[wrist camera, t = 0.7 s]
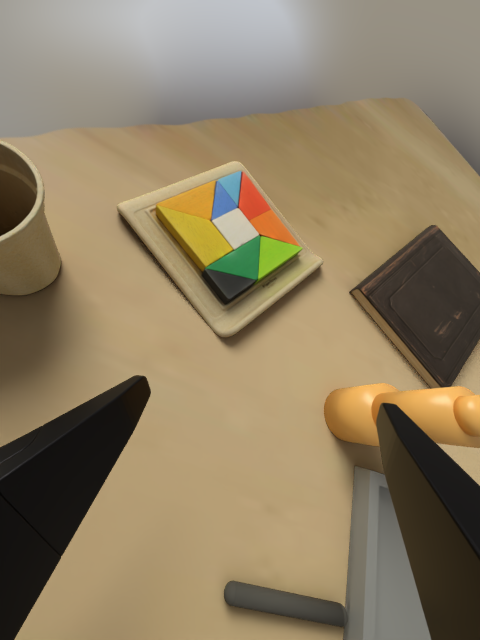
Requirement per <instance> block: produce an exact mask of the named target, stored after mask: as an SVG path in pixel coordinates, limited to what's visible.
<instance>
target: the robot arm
mask: <svg viewBox="0 0 480 640" xmlns="http://www.w3.org/2000/svg"><path fill="white" fill-rule="evenodd" d="M150 394H151V390H150V387H149V384H148V381H147V378H146V377H145V376H140V375H136V376H133V377H132V378H130V379H128V380H126V381H124V382H122V383H120V384H119V385H117V386H115V387H113V388H111V389H109V390H107V391H106V392H104V393H102V394H100V395H98V396H96V397H94V398H93V399H91V400H89V401H87V402H85V403H83V404H81V405H80V406H78V407H76V408H74V409H72V410H70V411H68V412H67V413H65V414H63V415H61V416H59V417H57V418H56V419H54V420H52V421H50V422H48V423H46V424H44V425H43V426H41V427H39V428H37V429H35V430H33V431H31V432H30V433H28V434H26V435H24V436H22V437H20V438H18V439H16V440H14V441H12V442H10V443H8V444H6V445H4V446H2V447H0V640H14V639H15V637H16V635H17V634H18V632H19V630H20V628H21V627H22V625H23V623H24V621H25V620H26V618H27V616H28V614H29V613H30V611H31V609H32V608H33V606H34V604H35V602H36V601H37V599H38V597H39V595H40V594H41V592H42V590H43V588H44V587H45V585H46V583H47V581H48V580H49V578H50V576H51V574H52V573H53V571H54V569H55V568H56V566H57V564H58V562H59V561H60V559H61V556H62V555H63V553H64V552H65V550H66V548H67V546H68V545H69V543H70V541H71V539H72V538H73V536H74V534H75V532H76V531H77V529H78V527H79V525H80V524H81V522H82V520H83V519H84V517H85V515H86V513H87V512H88V510H89V508H90V506H91V505H92V503H93V501H94V499H95V498H96V496H97V494H98V492H99V491H100V489H101V487H102V486H103V484H104V482H105V480H106V479H107V477H108V475H109V473H110V472H111V470H112V468H113V466H114V465H115V463H116V461H117V459H118V458H119V456H120V454H121V452H122V451H123V449H124V447H125V446H126V444H127V442H128V440H129V439H130V437H131V435H132V433H133V431H134V430H135V428H136V425H137V423H138V421H139V419H140V417H141V415H142V412H143V410H144V408H145V406H146V404H147V402H148V399H149V397H150ZM376 426H377V433H378V439H379V445H380V451H381V457H382V463H383V468H384V473H385V477H386V481H387V485H388V488H389V492H390V495H391V499H392V503H393V506H394V510H395V513H396V517H397V520H398V524H399V527H400V531H401V534H402V538H403V541H404V545H405V548H406V552H407V556H408V559H409V563H410V566H411V570H412V573H413V577H414V580H415V584H416V587H417V591H418V594H419V598H420V602H421V605H422V609H423V612H424V616H425V619H426V623H427V626H428V630H429V633H430V637H431V640H480V486H479V485H478V484H477V483H476V482H475V481H474V480H473V479H472V478H471V477H470V476H469V475H468V474H467V473H466V472H465V471H464V470H463V469H462V468H461V467H460V466H459V465H458V464H457V463H456V462H455V461H454V460H453V459H452V458H451V457H450V456H449V455H448V454H446V453H445V452H444V451H443V450H442V449H441V448H440V447H439V446H438V445H437V444H436V443H435V442H434V441H433V440H432V439H431V438H430V437H429V436H428V435H427V434H426V433H425V432H424V431H423V430H422V429H421V428H420V427H419V426H418V425H417V424H416V423H415V422H414V421H413V420H412V419H411V418H409V417H408V416H407V415H406V414H405V413H404V412H403V411H402V410H401V409H400V408H399V407H398V406H397V405H396V404H392V403H381V405H380V407H379V411H378V415H377V419H376Z"/></svg>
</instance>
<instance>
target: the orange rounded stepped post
mask: <svg viewBox="0 0 480 640" xmlns="http://www.w3.org/2000/svg"><path fill="white" fill-rule="evenodd" d="M381 403H392V404H396V405H397V406H398V407H399V408H400V409H401V410H402V411H403V412H404V413H405V414H406V415H407V416H408V417H409V418H411V419H412V420H413V421H414V422H415V423H416V424H417V425H418V426H419V427H420V428H421V429H422V430H423V431H424V432H425V433H426V434H427V435H428V436H429V437H430V438H431V439H432V440H433V441H434V442H435V443H439V444H448V445H456V446H465V447H474V448H480V395H475V394H474V393H473V392H472V391H470V390H469V389H467V388H465V387H461V386H456V387H444V388H433V389H421V390H410V391H399V390H397V389H396V388H395V387H393V386H391V385H389V384H384V383H380V384H372V385H365V386H357V387H349V388H342V389H337V390H334V391H333V392H331V393H330V394H329V396H328V397H327V399H326V402H325V406H324V416H325V420H326V423H327V425H328V427H329V429H330V431H331V432H332V433H333V434H334V435H335V436H336V437H337V438H339V439H340V440H343V441H347V442H353V443H359V444H365V445H371V446H377V447H380V445H379V439H378V433H377V426H376V419H377V415H378V411H379V407H380V405H381Z"/></svg>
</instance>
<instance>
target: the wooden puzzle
mask: <svg viewBox="0 0 480 640" xmlns="http://www.w3.org/2000/svg"><path fill="white" fill-rule="evenodd" d="M117 210H118V212H119V213H120V214H121V215H122V216H123V217H124V218H125V219H126V221H127V222H128V223H129V224H130V226H131V227H132V228H133V230H134V231H135V232H136V233H137V235H138V236H139V237H140V238H141V240H142V241H143V242H144V244H145V245H146V246H147V247H148V249H149V250H150V251H151V252H152V254H153V255H154V256H155V258H156V259H157V260H158V261H159V263H160V264H161V265H162V267H163V268H164V269H165V270H166V272H167V273H168V274H169V276H170V277H171V278H172V279H173V281H174V282H175V283H176V285H177V286H178V287H179V288H180V290H181V291H182V292H183V294H184V295H185V296H186V297H187V299H188V300H189V301H190V303H191V304H192V305H193V306H194V308H195V309H196V310H197V312H198V313H199V314H200V315H201V317H202V318H203V319H204V320H205V321H206V323H207V324H208V325H209V326H210V327H211V329H212V330H213V331H214V332H215V333H216V334H217V335H219V336H220V337H230V336H232V335H234V334H236V333H237V332H239V331H240V330H241V329H242V328H244V327H245V326H246V325H248V324H249V323H250V322H251V321H253V320H254V319H255V318H256V317H258V316H259V315H260V314H262V313H263V312H264V311H265V310H267V309H268V308H269V307H270V306H272V305H273V304H274V303H275V302H277V301H278V300H279V299H280V298H282V297H283V296H284V295H285V294H287V293H288V292H289V291H290V290H292V289H293V288H294V287H295V286H297V285H298V284H299V283H300V282H301V281H303V280H304V279H305V278H306V277H308V276H309V275H310V274H311V273H313V272H314V271H315V270H316V269H317V268H319V267H320V266H321V265H322V264H323V259H322V258H320V257H318V256H316V255H315V254H314V253H312V251H311V250H310V249H309V248H308V246H307V245H306V244H305V243H304V241H303V240H302V239H301V238H300V236H299V235H298V234H297V233H296V231H295V230H294V229H293V228H292V226H291V225H290V224H289V223H288V221H287V220H286V219H285V218H284V216H283V215H282V214H281V212H280V211H279V210H278V209H277V207H276V206H275V205H274V204H273V202H272V201H271V200H270V199H269V197H268V196H267V195H266V194H265V192H264V191H263V190H262V188H261V187H260V186H259V185H258V183H257V182H256V181H255V179H254V178H253V177H252V176H251V174H250V173H249V172H248V171H247V169H246V168H245V167H244V166H243V165H242V164H241V163H240V162H236V161H234V162H230V163H227V164H225V165H222V166H219V167H217V168H214V169H212V170H209V171H206V172H204V173H201V174H198V175H196V176H193V177H190V178H188V179H185V180H183V181H180V182H177V183H174V184H172V185H169V186H166V187H164V188H161V189H158V190H155V191H153V192H150V193H147V194H145V195H142V196H139V197H136V198H133V199H131V200H128V201H125V202H122V203H119V204H118V205H117Z"/></svg>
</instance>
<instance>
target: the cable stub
mask: <svg viewBox="0 0 480 640" xmlns="http://www.w3.org/2000/svg"><path fill="white" fill-rule="evenodd" d="M224 598H225V601H226V602H227V604H229V605H230V606H235V607H240V608H246V609H251V610H256V611H261V612H267V613H272V614H277V615H282V616H287V617H293V618H298V619H303V620H308V621H313V622H319V623H324V624H329V625H334V626H340V627H343V626H345V625H346V624H347V621H348V615H347V612H346V609H345V608H344V606H343V605H342V604H340V603H337V602H332V601H327V600H322V599H318V598H313V597H308V596H303V595H298V594H294V593H289V592H284V591H279V590H274V589H270V588H265V587H260V586H255V585H251V584H246V583H241V582H236V581H230V582H228V583H227V585H226V587H225V589H224Z"/></svg>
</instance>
